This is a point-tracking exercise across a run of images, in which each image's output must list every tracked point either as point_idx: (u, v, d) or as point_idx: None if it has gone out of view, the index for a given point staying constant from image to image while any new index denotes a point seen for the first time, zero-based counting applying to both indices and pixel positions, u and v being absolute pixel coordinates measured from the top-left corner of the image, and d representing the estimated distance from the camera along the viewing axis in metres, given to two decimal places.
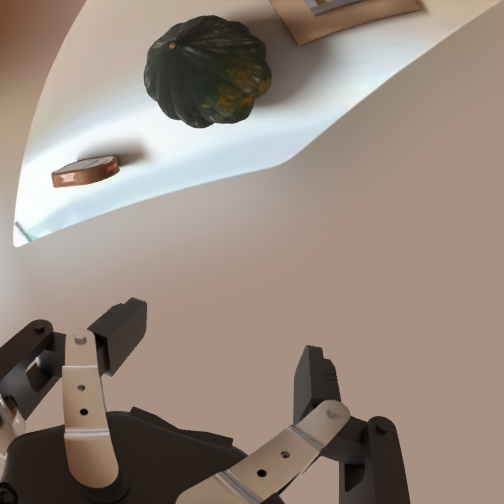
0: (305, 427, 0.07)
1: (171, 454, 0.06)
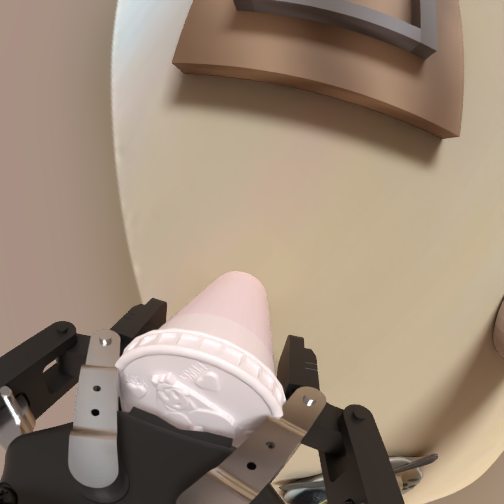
0: (284, 415, 0.08)
1: (171, 454, 0.06)
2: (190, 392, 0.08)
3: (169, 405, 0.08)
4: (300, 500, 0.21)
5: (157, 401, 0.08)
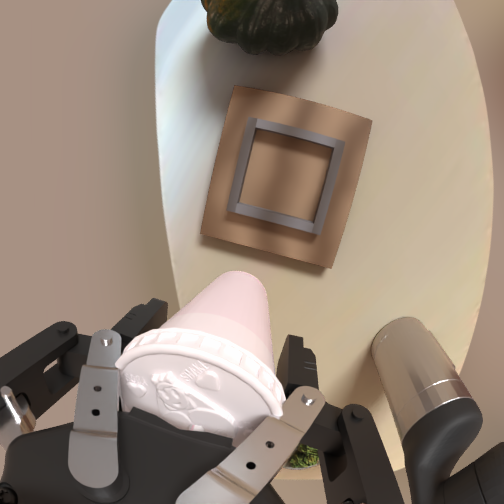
0: (283, 415, 0.08)
1: (171, 454, 0.06)
2: (190, 391, 0.08)
3: (169, 404, 0.08)
4: None
5: (157, 400, 0.08)
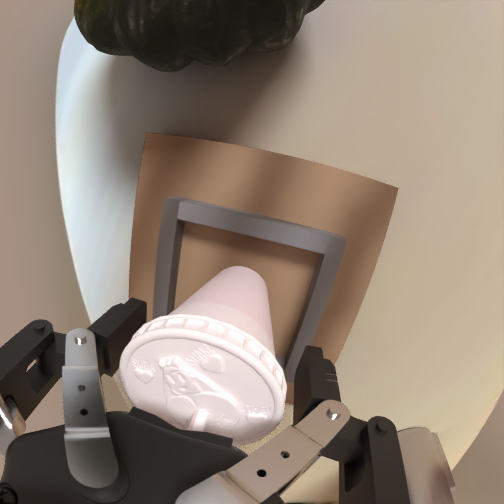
0: (305, 427, 0.07)
1: (171, 454, 0.06)
2: (196, 375, 0.08)
3: (175, 389, 0.09)
4: None
5: (163, 385, 0.09)
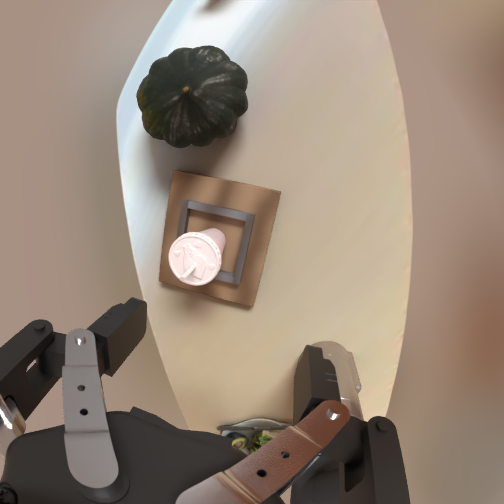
0: (305, 427, 0.07)
1: (171, 454, 0.06)
2: (193, 249, 0.32)
3: (187, 255, 0.32)
4: None
5: (183, 255, 0.32)
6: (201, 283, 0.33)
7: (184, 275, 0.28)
